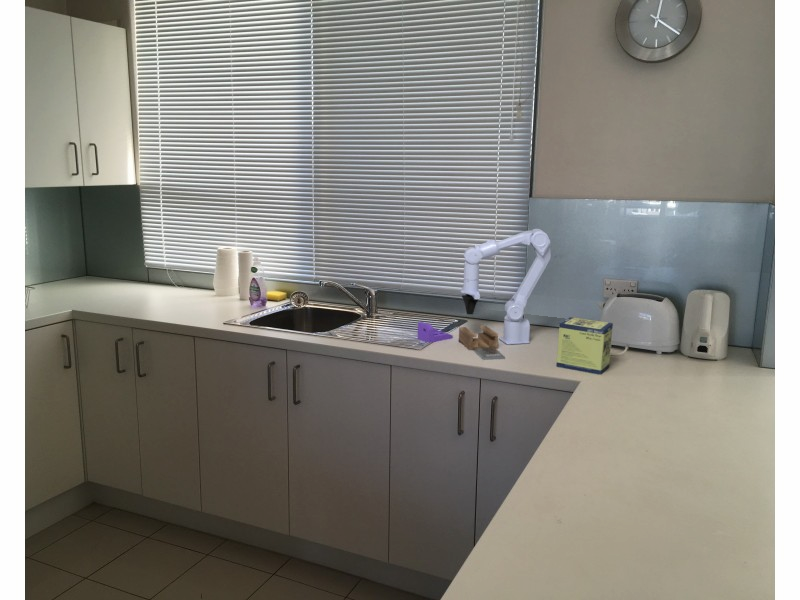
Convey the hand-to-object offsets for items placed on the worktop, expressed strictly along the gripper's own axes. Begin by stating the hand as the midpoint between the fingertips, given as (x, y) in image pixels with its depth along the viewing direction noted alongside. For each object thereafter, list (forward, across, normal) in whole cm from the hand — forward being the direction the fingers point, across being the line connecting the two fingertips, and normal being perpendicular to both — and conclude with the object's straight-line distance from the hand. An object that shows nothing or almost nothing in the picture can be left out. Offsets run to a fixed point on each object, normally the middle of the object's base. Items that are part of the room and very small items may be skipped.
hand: (469, 314), depth 259 cm
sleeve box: (+10, +7, +1) cm, 13 cm away
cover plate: (+11, +19, 0) cm, 22 cm away
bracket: (+11, -5, -12) cm, 17 cm away
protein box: (+11, +39, +27) cm, 49 cm away
